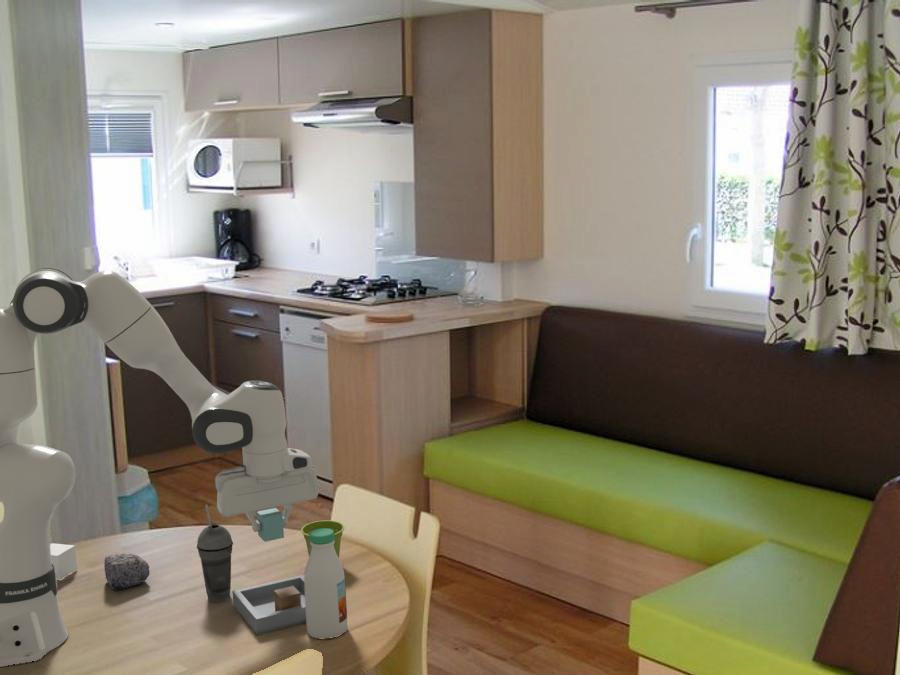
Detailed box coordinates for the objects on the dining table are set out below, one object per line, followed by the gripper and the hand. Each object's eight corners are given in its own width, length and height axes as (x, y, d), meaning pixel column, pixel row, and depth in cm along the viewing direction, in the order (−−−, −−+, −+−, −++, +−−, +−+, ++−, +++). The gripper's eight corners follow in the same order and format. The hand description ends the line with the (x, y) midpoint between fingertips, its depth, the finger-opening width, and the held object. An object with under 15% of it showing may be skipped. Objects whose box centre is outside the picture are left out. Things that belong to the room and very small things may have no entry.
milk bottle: (330, 644, 202) (325, 542, 198) (298, 635, 206) (292, 535, 202) (355, 627, 208) (350, 528, 205) (324, 619, 213) (318, 521, 209)
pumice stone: (149, 584, 237) (103, 575, 236) (156, 551, 236) (110, 541, 235) (139, 603, 227) (91, 593, 226) (147, 569, 226) (99, 559, 225)
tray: (257, 634, 207) (256, 619, 206) (233, 605, 220) (232, 590, 219) (331, 616, 214) (331, 600, 213) (304, 588, 227) (303, 574, 226)
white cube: (60, 582, 235) (57, 555, 234) (37, 579, 236) (34, 553, 235) (77, 571, 240) (75, 545, 239) (54, 568, 242) (52, 543, 241)
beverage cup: (228, 606, 220) (221, 512, 216) (194, 604, 221) (187, 510, 217) (242, 591, 227) (235, 499, 223) (209, 589, 228) (202, 498, 224)
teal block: (264, 541, 215) (263, 517, 214) (258, 535, 218) (256, 511, 217) (284, 537, 217) (282, 513, 216) (277, 531, 220) (275, 507, 219)
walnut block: (282, 621, 210) (280, 597, 209) (275, 614, 214) (273, 590, 213) (301, 617, 212) (300, 593, 211) (294, 609, 216) (293, 585, 215)
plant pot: (355, 561, 240) (353, 524, 239) (328, 577, 232) (326, 538, 231) (322, 554, 245) (319, 517, 244) (294, 568, 237) (292, 531, 236)
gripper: (219, 475, 207) (224, 543, 210) (319, 456, 216) (323, 522, 219) (209, 466, 212) (215, 533, 215) (308, 449, 222) (311, 513, 225)
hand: (270, 527), depth 217 cm, fingers closed on teal block, 4 cm apart
